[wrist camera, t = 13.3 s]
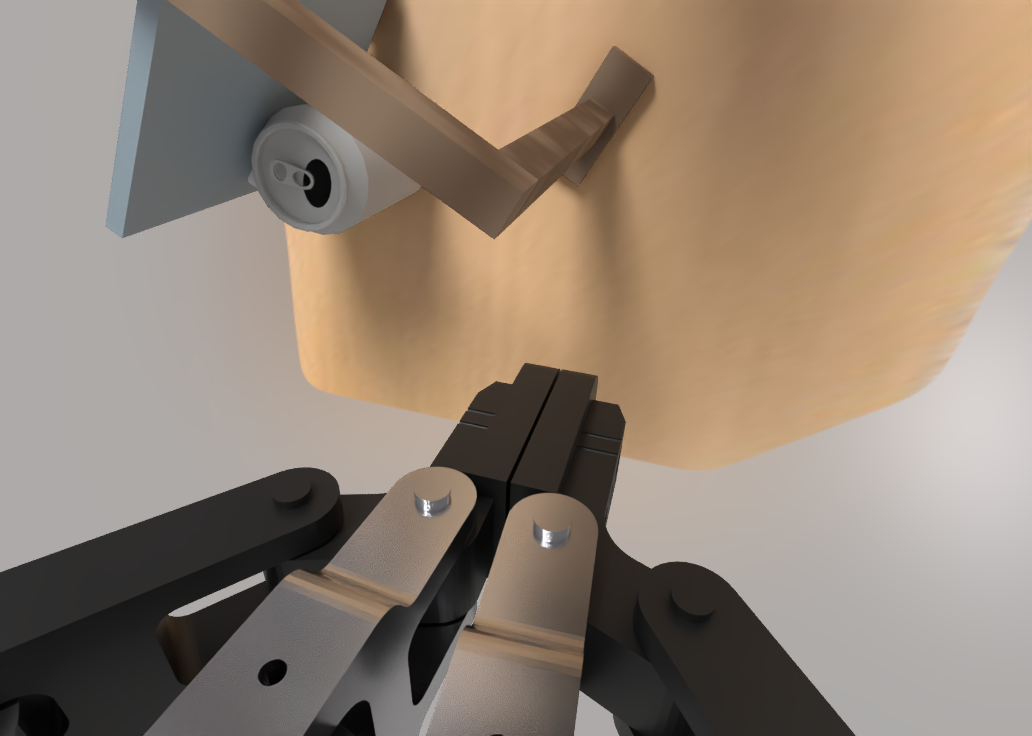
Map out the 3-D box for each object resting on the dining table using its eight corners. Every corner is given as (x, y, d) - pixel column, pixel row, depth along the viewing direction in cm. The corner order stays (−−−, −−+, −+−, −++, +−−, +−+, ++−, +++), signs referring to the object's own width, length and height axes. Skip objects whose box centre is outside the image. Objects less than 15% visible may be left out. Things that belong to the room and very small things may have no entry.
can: (426, 210, 45) (344, 262, 35) (341, 173, 45) (236, 214, 35) (449, 112, 40) (363, 140, 30) (355, 73, 41) (240, 87, 31)
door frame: (336, 0, 39) (4, -25, 21) (380, -135, 34) (5, -319, 16) (580, 182, 40) (469, 309, 22) (653, 75, 36) (590, 123, 17)
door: (374, -34, 36) (136, -79, 21) (400, -14, 36) (181, -45, 21) (306, 155, 44) (97, 220, 29) (327, 171, 44) (130, 244, 29)
